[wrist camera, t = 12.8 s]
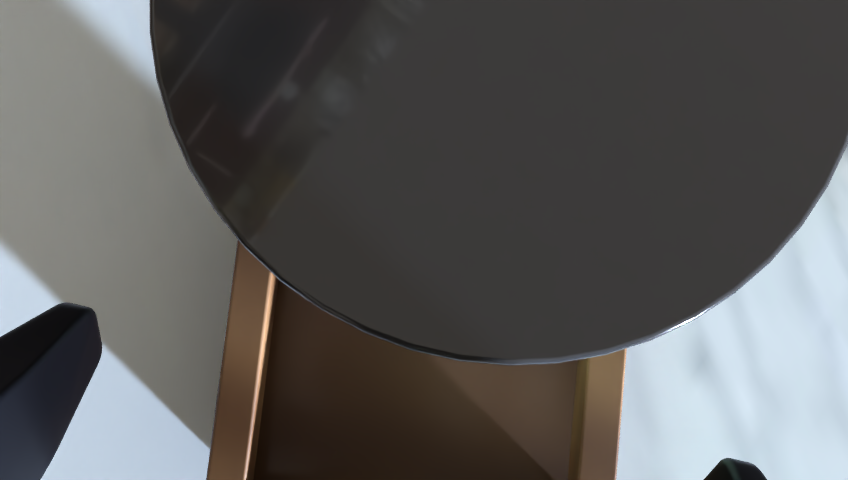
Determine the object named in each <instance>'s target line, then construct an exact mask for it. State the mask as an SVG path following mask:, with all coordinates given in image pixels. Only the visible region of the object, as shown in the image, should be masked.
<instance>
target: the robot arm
mask: <svg viewBox="0 0 848 480" xmlns="http://www.w3.org/2000/svg"><path fill="white" fill-rule="evenodd" d="M101 353H102V342H101V337H100V332H99V327H98V322H97V317H96V313H95V312H94V310H93V309H92V308H89V307H85V306H81V305H77V304H73V303H61V304H58V305H56V306H54V307H52V308H51V309H49V310H47V311H45V312H44V313H42V314H40V315H38V316H37V317H35V318H33V319H31V320H30V321H28V322H26V323H24V324H22V325H21V326H19V327H17V328H15V329H14V330H12V331H10V332H8V333H7V334H5V335H3V336H1V337H0V480H40V479H41V478H42V476H43V474H44V473H45V471H46V469H47V467H48V466H49V464H50V462H51V461H52V459H53V457H54V455H55V453H56V451H57V449H58V447H59V445H60V443H61V441H62V439H63V437H64V434H65V432H66V430H67V428H68V426H69V424H70V422H71V420H72V418H73V416H74V413H75V411H76V409H77V407H78V405H79V403H80V401H81V399H82V397H83V394H84V392H85V390H86V388H87V386H88V384H89V382H90V380H91V378H92V376H93V373H94V371H95V369H96V367H97V365H98V363H99V360H100V357H101ZM704 480H767V479H766V478H765V476H764V475H763V473H762V472H761V471H760V470H759V469H758V468H757V467H756V466H755V465H753V464H751V463H748V462H744V461H740V460H736V459H731V458H725V459H723V460H721V461H720V462H719V463H718V464H717V465H716V466H715V468H714V469H713V470H712V471H711V472H710V473H709V474H708V476H707V477H706V478H705V479H704Z"/></svg>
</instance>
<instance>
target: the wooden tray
mask: <svg viewBox="0 0 848 480" xmlns="http://www.w3.org/2000/svg"><path fill="white" fill-rule="evenodd" d="M626 350H627V348H626V349H623V350H620V351H617V352H613V353H610V354H607V355H603V356H597V357H592V358H586V359H580V360H575V361H569V362H564V363H558V364H536V365H513V366H506V365H495V364H484V363H473V362H462V361H456V360H452V359H447V358H443V357H438V356H434V355H429V354H425V353H421V352H416V351H412V350H409V349H406V348H403V347H401V346H398V345H395V344H393V343H390V342H387V341H385V340H382V339H379V338H376V337H374V336H371V335H368V334H366V333H363V332H362V331H360V330H358V329H356V328H354V327H352V326H350V325H348V324H346V323H345V322H343V321H341V320H339V319H337V318H335V317H333V316H331V315H329V314H328V313H326V312H324V311H322V310H320V309H319V308H317V307H316V306H315V305H313V304H312V303H310V302H309V301H308V300H306V299H305V298H303V297H302V296H301V295H299V294H298V293H296V292H295V291H294V290H292V289H291V288H289V287H288V286H287V285H285V284H284V283H282V282H281V281H280V280H279V279H278V278H277V277H276V276H274V275H273V274H272V273H271V272H270V271H269V270H268V269H267V268H266V267H265V266H264V265H263V264H262V263H261V262H260V261H258V260H257V259H256V258H255V257H254V256H253V255H252V254H251V253H250V252H249V251H248V250H247V249H246V248H245V247H244V246H243V245H242V244H241V242H240V241H239V240H238V242H237V250H236V258H235V265H234V273H233V280H232V288H231V296H230V303H229V311H228V318H227V326H226V334H225V341H224V349H223V356H222V364H221V372H220V379H219V387H218V395H217V402H216V410H215V417H214V425H213V433H212V440H211V448H210V455H209V463H208V471H207V478H206V480H616V474H617V461H618V449H619V436H620V424H621V412H622V399H623V387H624V374H625V362H626Z"/></svg>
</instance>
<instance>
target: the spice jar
mask: <svg viewBox="0 0 848 480" xmlns="http://www.w3.org/2000/svg"><path fill="white" fill-rule="evenodd" d="M150 38H151V45H152V52H153V59H154V66H155V73H156V79H157V83H158V87H159V90H160V93H161V97H162V100H163V104H164V107H165V111H166V114H167V118H168V121H169V125H170V127H171V129H172V132H173V134H174V136H175V139H176V141H177V143H178V145H179V148H180V150H181V152H182V154H183V157H184V159H185V161H186V164H187V166H188V168H189V170H190V172H191V173H192V175H193V176H194V178H195V180H196V181H197V183H198V185H199V186H200V188H201V189H202V191H203V193H204V194H205V196H206V198H207V199H208V201H209V203H210V204H211V206H212V207H213V209H214V211H215V212H216V213H217V214H218V215H219V217H220V218H221V219H222V220H223V222H224V223H225V224H226V225H227V226H228V228H229V229H230V230H231V231H232V233H233V234H234V235H235V236H236V237H237V239H238V240H239V241H240V242H241V244H242V245H243V246H244V247H245V248H246V249H247V250H248V251H249V252H250V253H251V254H252V255H253V256H254V257H255V258H256V259H257V260H258V261H260V262H261V263H262V264H263V265H264V266H265V267H266V268H267V269H268V270H269V271H270V272H271V273H272V274H273V275H274V276H276V277H277V278H278V279H279V280H280V281H281V282H282V283H284V284H285V285H287V286H288V287H289V288H291V289H292V290H294V291H295V292H296V293H298V294H299V295H301V296H302V297H303V298H305V299H306V300H308V301H309V302H310V303H312V304H313V305H315V306H316V307H317V308H319V309H320V310H322V311H324V312H326V313H328V314H329V315H331V316H333V317H335V318H337V319H339V320H341V321H343V322H345V323H346V324H348V325H350V326H352V327H354V328H356V329H358V330H360V331H362V332H363V333H366V334H368V335H371V336H374V337H376V338H379V339H382V340H385V341H387V342H390V343H393V344H395V345H398V346H401V347H403V348H406V349H409V350H412V351H416V352H421V353H425V354H429V355H434V356H438V357H443V358H447V359H452V360H456V361H462V362H473V363H484V364H495V365H506V366H513V365H536V364H558V363H564V362H569V361H575V360H580V359H586V358H592V357H597V356H603V355H607V354H610V353H613V352H617V351H620V350H623V349H626V348H629V347H632V346H635V345H638V344H641V343H645V342H648V341H651V340H653V339H655V338H657V337H659V336H662V335H664V334H666V333H668V332H670V331H672V330H674V329H676V328H678V327H680V326H682V325H685V324H687V323H689V322H691V321H693V320H695V319H697V318H698V317H700V316H701V315H703V314H704V313H706V312H707V311H709V310H710V309H712V308H713V307H715V306H716V305H718V304H719V303H721V302H722V301H724V300H725V299H727V298H729V297H730V296H732V295H733V294H735V293H736V292H737V291H738V290H739V289H740V288H742V287H743V286H744V285H745V284H746V283H747V282H748V281H750V280H751V279H752V278H753V277H754V276H755V275H756V274H758V273H759V272H760V271H761V270H762V269H763V268H764V267H766V266H767V265H768V264H769V263H770V262H771V261H772V260H773V259H774V257H775V256H776V255H777V254H778V253H779V252H780V251H781V249H782V248H783V247H784V246H785V245H786V244H787V243H788V241H789V240H790V239H791V238H792V237H793V236H794V234H795V233H796V232H797V231H798V230H799V229H800V228H801V226H802V225H803V223H804V222H805V220H806V219H807V217H808V216H809V214H810V213H811V211H812V210H813V208H814V207H815V205H816V203H817V202H818V200H819V199H820V197H821V196H822V194H823V193H824V191H825V190H826V188H827V187H828V185H829V182H830V180H831V178H832V176H833V174H834V172H835V170H836V168H837V166H838V163H839V161H840V159H841V157H842V155H843V153H844V151H845V149H846V147H847V144H848V0H150Z"/></svg>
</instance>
